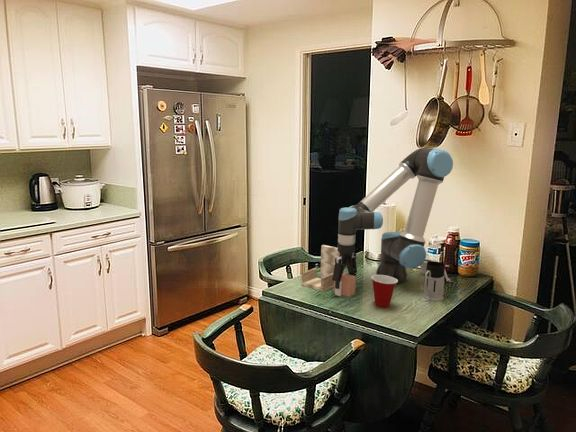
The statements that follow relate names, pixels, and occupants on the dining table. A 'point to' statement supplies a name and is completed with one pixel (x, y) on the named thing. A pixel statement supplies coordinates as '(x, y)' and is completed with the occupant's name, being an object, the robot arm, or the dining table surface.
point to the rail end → (347, 284)
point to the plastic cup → (383, 289)
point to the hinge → (424, 266)
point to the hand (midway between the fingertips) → (344, 292)
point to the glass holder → (434, 281)
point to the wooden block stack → (322, 270)
